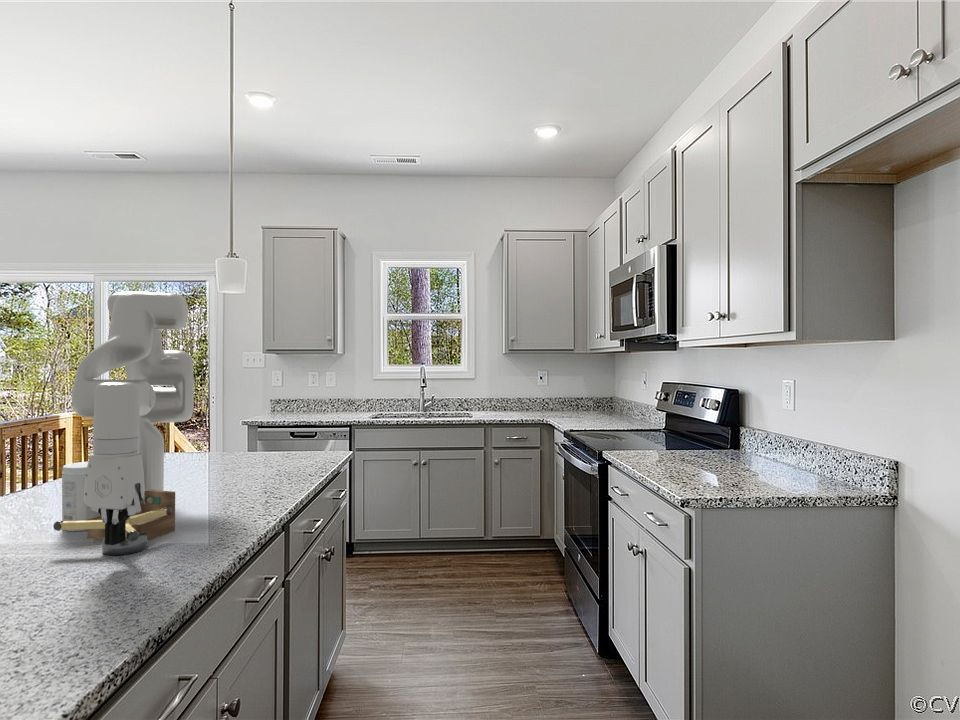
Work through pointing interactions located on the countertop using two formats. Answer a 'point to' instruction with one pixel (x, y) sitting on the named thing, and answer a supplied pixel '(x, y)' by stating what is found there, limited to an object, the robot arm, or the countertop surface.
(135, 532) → the tan branched rod piece
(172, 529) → the level stand
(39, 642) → the countertop surface
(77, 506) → the supplement tub
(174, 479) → the countertop surface
